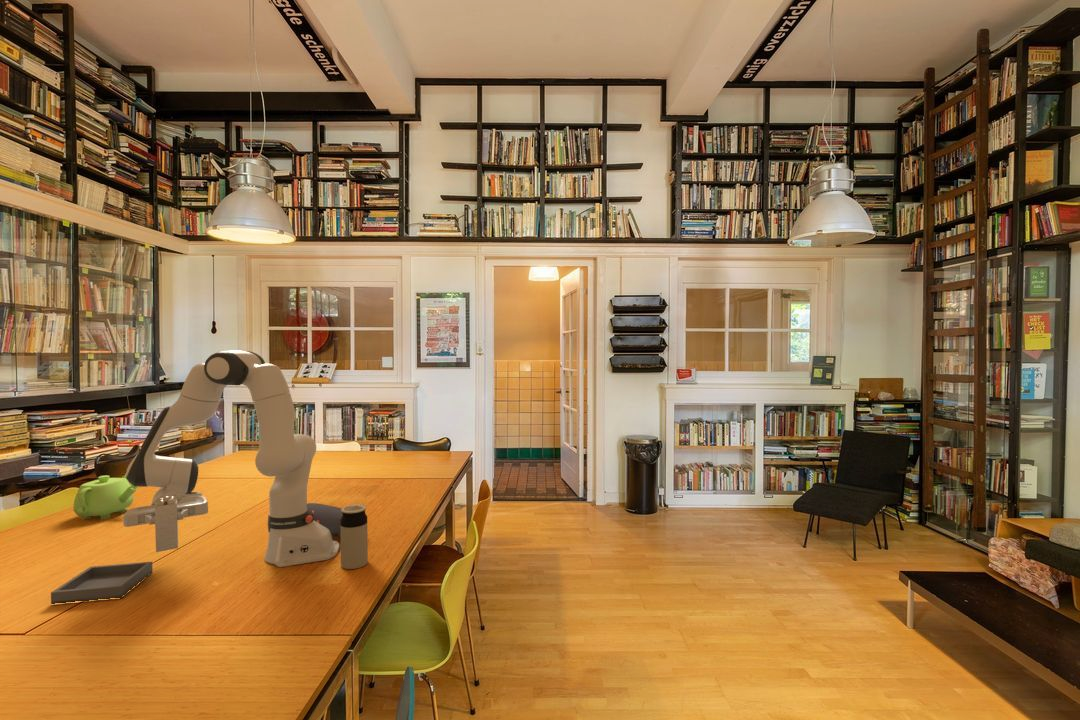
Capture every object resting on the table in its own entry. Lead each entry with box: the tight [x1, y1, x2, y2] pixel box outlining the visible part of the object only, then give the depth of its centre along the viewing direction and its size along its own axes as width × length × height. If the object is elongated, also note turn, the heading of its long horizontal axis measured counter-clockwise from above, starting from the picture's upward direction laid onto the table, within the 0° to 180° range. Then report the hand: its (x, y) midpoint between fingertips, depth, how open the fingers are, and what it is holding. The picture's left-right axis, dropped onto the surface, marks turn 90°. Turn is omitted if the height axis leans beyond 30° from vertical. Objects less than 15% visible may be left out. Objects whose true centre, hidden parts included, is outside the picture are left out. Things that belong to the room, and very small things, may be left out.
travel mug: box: [340, 504, 369, 570], centre depth 158 cm, size 8×8×18 cm
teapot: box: [73, 473, 139, 520], centre depth 205 cm, size 25×22×16 cm
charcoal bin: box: [50, 561, 154, 605], centre depth 142 cm, size 16×16×4 cm
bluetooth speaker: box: [307, 502, 343, 537], centre depth 184 cm, size 23×9×10 cm, turn 62°
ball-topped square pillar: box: [154, 496, 179, 553], centre depth 144 cm, size 5×5×15 cm
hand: (166, 519), depth 143 cm, fingers closed on ball-topped square pillar, 5 cm apart
